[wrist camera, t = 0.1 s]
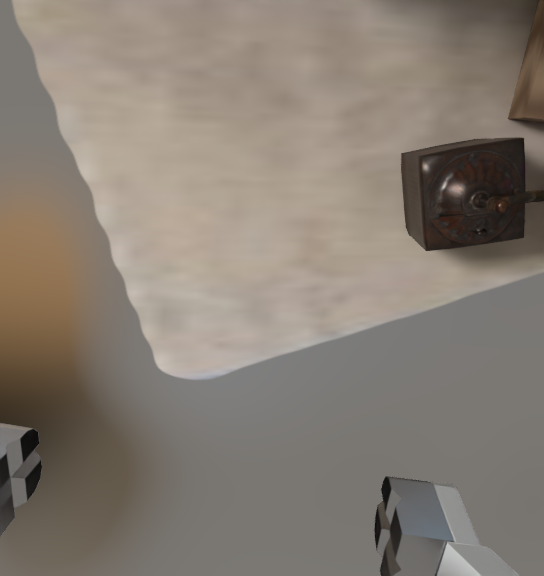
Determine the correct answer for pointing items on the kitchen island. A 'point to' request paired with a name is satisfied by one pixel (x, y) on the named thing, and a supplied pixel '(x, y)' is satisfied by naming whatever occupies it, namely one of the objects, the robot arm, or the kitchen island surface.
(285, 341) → the kitchen island surface
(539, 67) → the dock
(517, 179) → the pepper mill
